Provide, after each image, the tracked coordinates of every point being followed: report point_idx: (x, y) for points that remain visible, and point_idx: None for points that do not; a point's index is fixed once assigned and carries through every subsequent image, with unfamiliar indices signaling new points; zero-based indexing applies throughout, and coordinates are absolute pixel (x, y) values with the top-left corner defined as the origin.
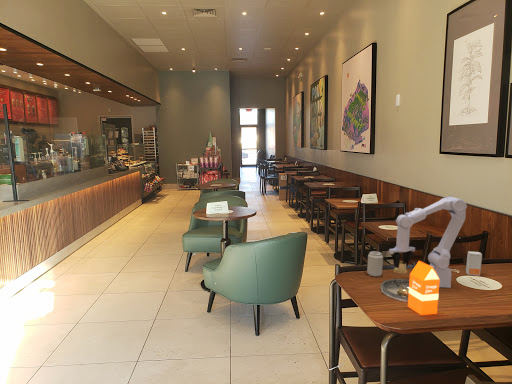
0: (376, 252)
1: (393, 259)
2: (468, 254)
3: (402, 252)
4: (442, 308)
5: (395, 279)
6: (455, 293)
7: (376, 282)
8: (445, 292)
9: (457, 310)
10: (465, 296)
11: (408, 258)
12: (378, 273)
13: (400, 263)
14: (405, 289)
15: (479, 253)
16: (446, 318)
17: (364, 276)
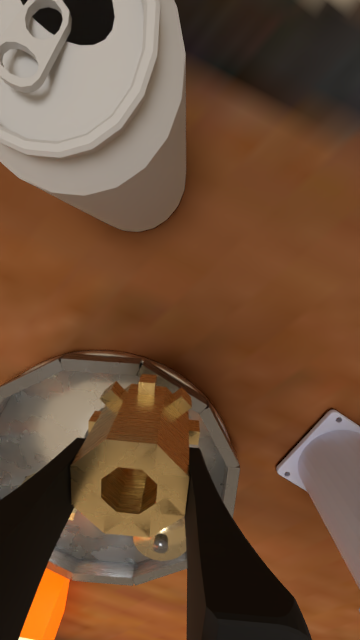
0: None
1: (9, 503)
2: None
3: (204, 592)
4: (116, 599)
5: (134, 373)
6: (301, 549)
7: (51, 301)
8: (272, 528)
9: (152, 624)
10: (306, 579)
11: (188, 605)
12: (118, 228)
13: (99, 509)
14: None
15: None
16: (65, 637)
17: None
